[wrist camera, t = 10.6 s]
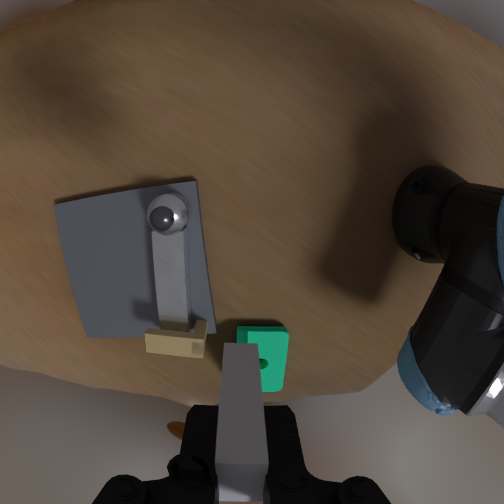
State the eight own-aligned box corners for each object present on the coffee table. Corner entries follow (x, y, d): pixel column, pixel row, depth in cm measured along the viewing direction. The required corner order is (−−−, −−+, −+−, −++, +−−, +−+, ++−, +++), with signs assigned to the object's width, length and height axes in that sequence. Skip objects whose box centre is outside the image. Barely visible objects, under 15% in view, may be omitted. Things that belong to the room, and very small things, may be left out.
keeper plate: (197, 180, 39) (188, 183, 32) (217, 329, 45) (214, 357, 38) (59, 203, 39) (31, 211, 31) (91, 333, 45) (73, 357, 38)
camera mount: (279, 381, 49) (288, 424, 39) (235, 381, 49) (235, 424, 39) (287, 322, 46) (298, 362, 36) (237, 322, 45) (237, 362, 35)
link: (153, 192, 37) (139, 197, 32) (190, 191, 38) (182, 196, 32) (163, 332, 43) (154, 354, 37) (195, 333, 43) (190, 356, 38)
